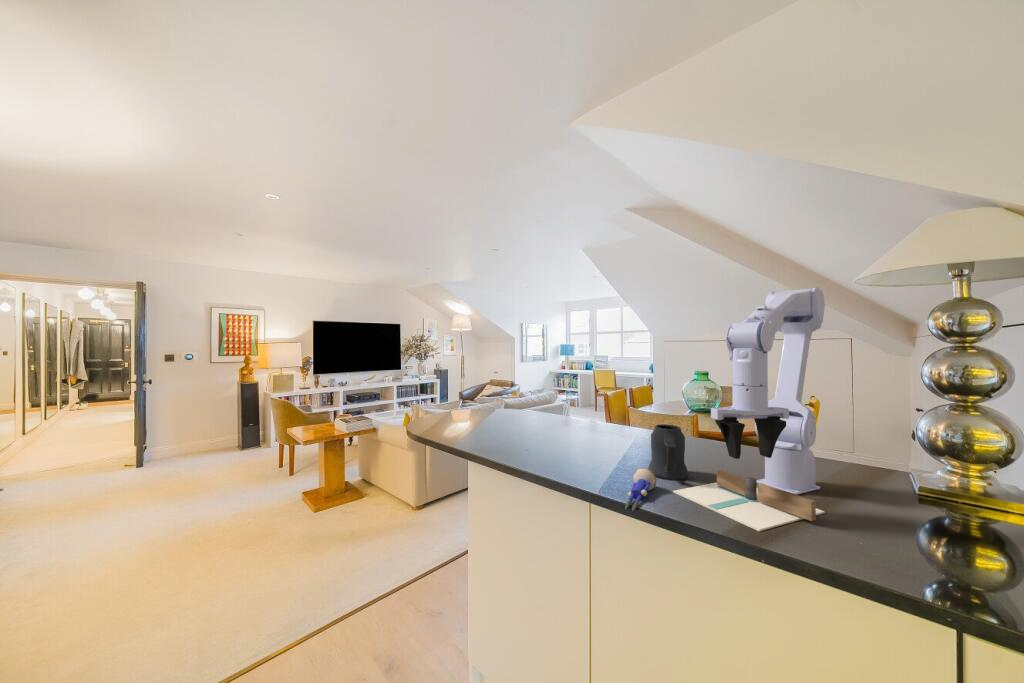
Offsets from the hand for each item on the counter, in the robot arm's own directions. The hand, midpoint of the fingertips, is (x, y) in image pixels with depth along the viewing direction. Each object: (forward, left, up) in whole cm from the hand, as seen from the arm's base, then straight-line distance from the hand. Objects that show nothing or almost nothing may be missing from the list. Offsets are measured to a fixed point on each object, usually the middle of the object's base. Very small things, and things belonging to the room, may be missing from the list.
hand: (750, 456), depth 71 cm
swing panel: (-3, +4, -9) cm, 10 cm away
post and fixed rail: (-3, -5, -9) cm, 11 cm away
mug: (+1, -19, -10) cm, 21 cm away
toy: (+16, -12, -10) cm, 22 cm away
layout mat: (-1, -2, -9) cm, 10 cm away
